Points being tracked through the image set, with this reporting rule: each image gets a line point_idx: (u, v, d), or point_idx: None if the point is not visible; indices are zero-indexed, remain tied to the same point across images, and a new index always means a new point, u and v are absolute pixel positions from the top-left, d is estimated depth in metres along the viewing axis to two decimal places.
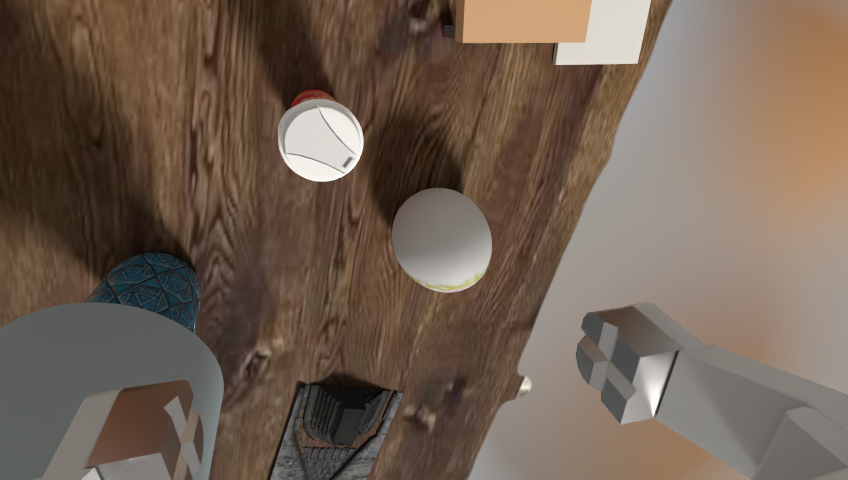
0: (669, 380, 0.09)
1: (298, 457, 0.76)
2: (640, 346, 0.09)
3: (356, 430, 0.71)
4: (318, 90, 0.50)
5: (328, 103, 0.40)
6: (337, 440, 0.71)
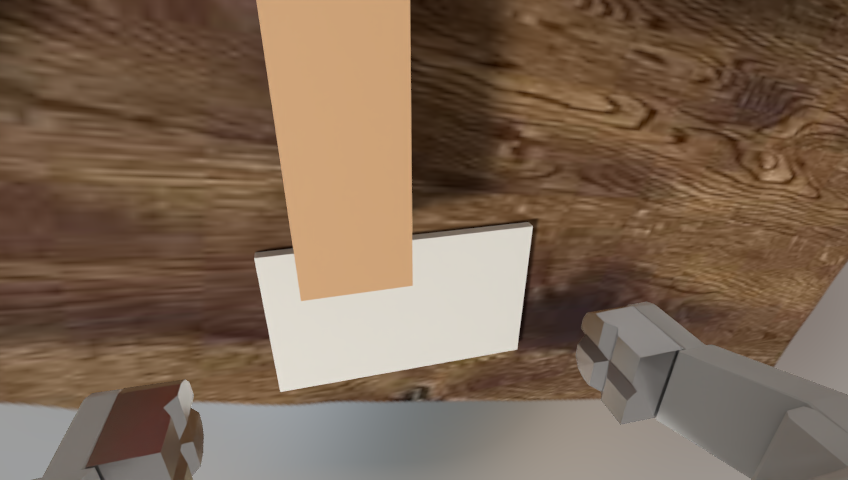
0: (669, 380, 0.09)
1: None
2: (640, 346, 0.09)
3: None
4: None
5: None
6: None
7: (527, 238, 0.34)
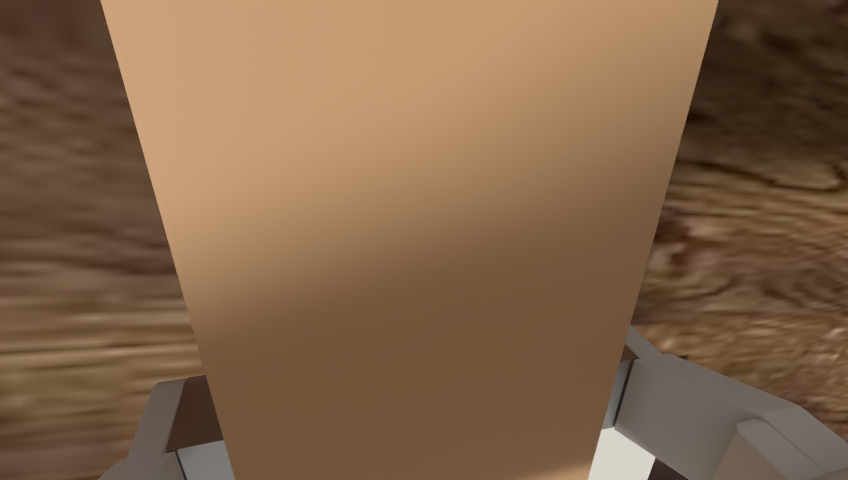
0: (626, 389, 0.09)
1: None
2: None
3: None
4: None
5: None
6: None
7: None
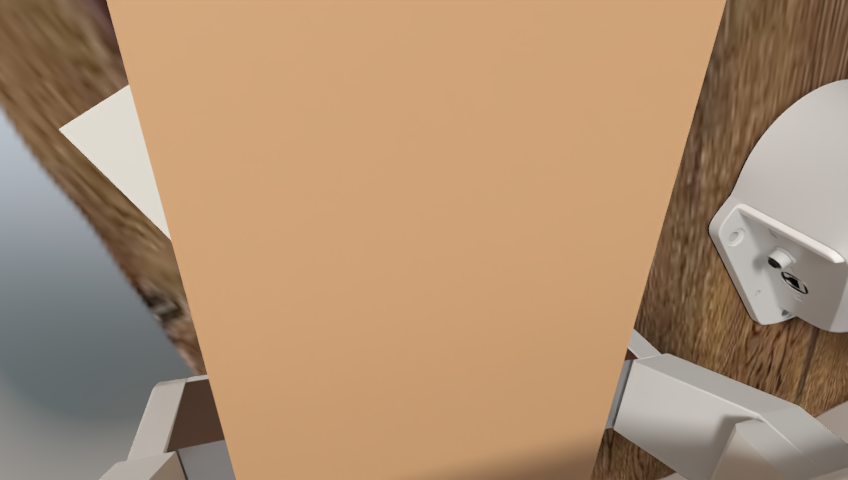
0: (625, 390, 0.09)
1: None
2: None
3: None
4: None
5: None
6: None
7: None
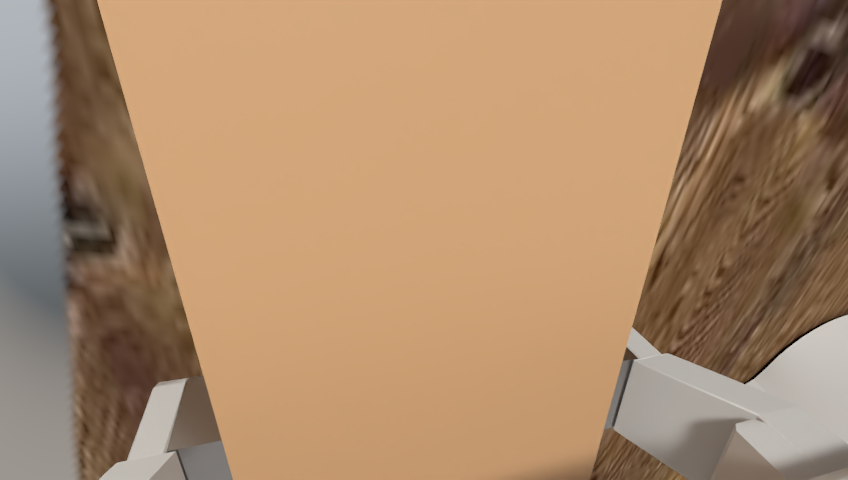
0: (625, 389, 0.09)
1: None
2: None
3: None
4: None
5: None
6: None
7: None
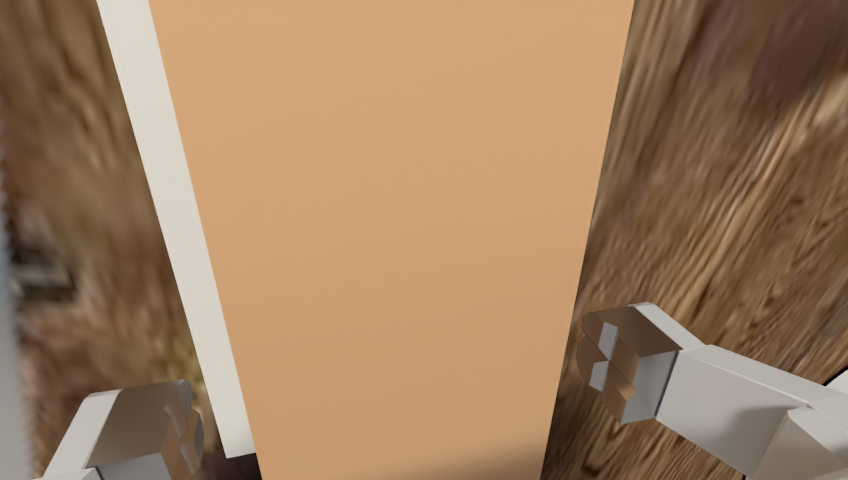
0: (669, 380, 0.09)
1: None
2: (640, 346, 0.09)
3: None
4: None
5: None
6: None
7: None
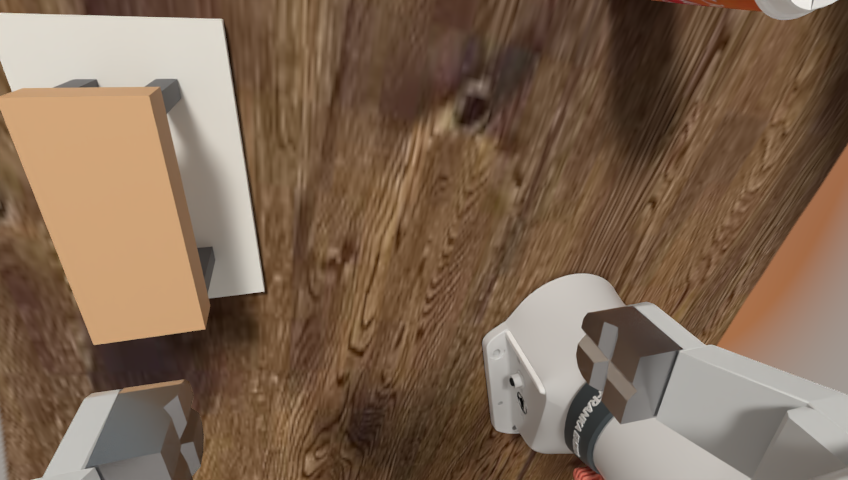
0: (669, 380, 0.09)
1: None
2: (640, 346, 0.09)
3: None
4: None
5: (779, 11, 0.24)
6: None
7: (250, 289, 0.36)
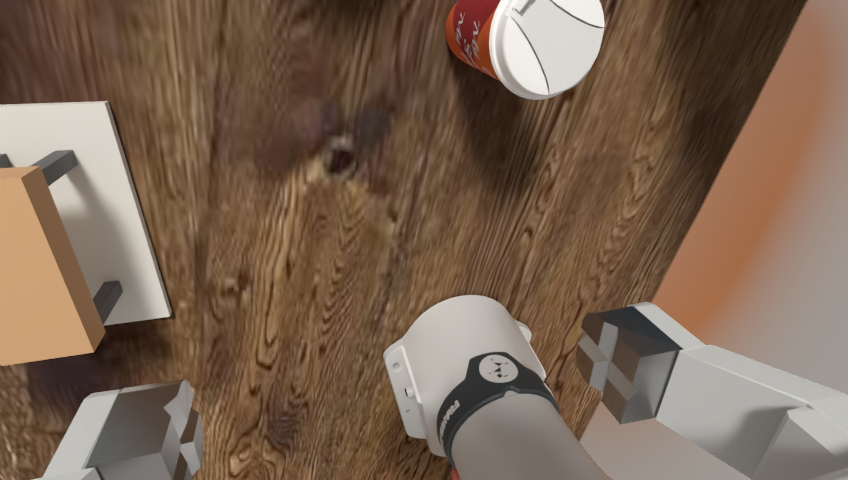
0: (669, 380, 0.09)
1: None
2: (640, 346, 0.09)
3: None
4: None
5: (529, 94, 0.30)
6: None
7: (157, 315, 0.43)
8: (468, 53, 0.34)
